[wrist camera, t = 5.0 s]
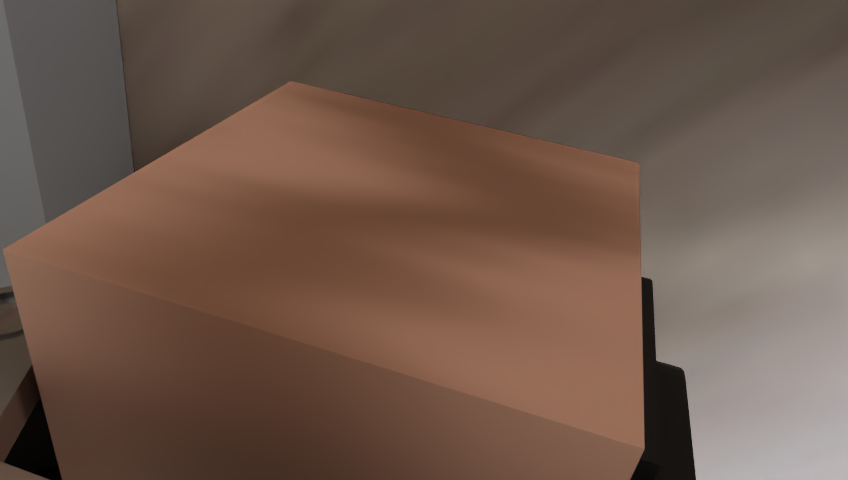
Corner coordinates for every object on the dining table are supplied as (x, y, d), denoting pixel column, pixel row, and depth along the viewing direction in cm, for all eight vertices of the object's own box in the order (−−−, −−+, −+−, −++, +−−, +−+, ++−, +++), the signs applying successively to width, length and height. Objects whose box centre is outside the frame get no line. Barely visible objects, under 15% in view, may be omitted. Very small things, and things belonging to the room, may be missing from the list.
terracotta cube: (638, 162, 10) (644, 449, 5) (548, 424, 13) (495, 760, 8) (290, 81, 11) (2, 249, 6) (284, 341, 14) (92, 596, 9)
